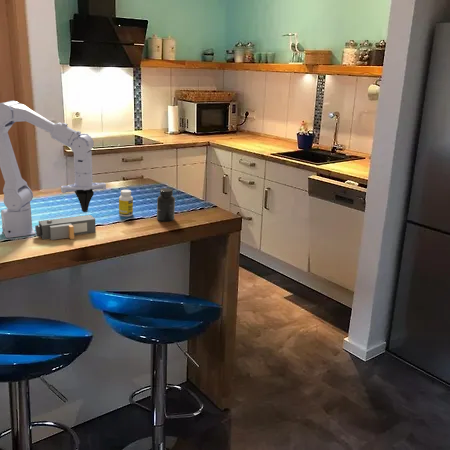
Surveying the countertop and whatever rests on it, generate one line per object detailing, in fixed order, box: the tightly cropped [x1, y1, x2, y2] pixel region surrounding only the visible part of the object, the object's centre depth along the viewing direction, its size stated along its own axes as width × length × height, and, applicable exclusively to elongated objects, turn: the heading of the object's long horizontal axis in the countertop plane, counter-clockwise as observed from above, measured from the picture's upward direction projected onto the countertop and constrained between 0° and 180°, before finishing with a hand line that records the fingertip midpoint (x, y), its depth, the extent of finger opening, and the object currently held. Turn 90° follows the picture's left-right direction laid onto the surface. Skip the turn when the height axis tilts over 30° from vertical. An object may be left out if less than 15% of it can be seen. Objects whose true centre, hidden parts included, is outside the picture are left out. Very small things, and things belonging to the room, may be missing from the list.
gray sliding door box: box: [34, 214, 97, 241], centre depth 172 cm, size 19×5×6 cm, turn 122°
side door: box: [49, 223, 75, 241], centre depth 167 cm, size 7×4×4 cm, turn 122°
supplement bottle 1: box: [118, 189, 134, 218], centre depth 195 cm, size 5×5×10 cm
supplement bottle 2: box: [156, 187, 176, 223], centre depth 192 cm, size 7×7×12 cm
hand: (84, 211), depth 169 cm, fingers closed
